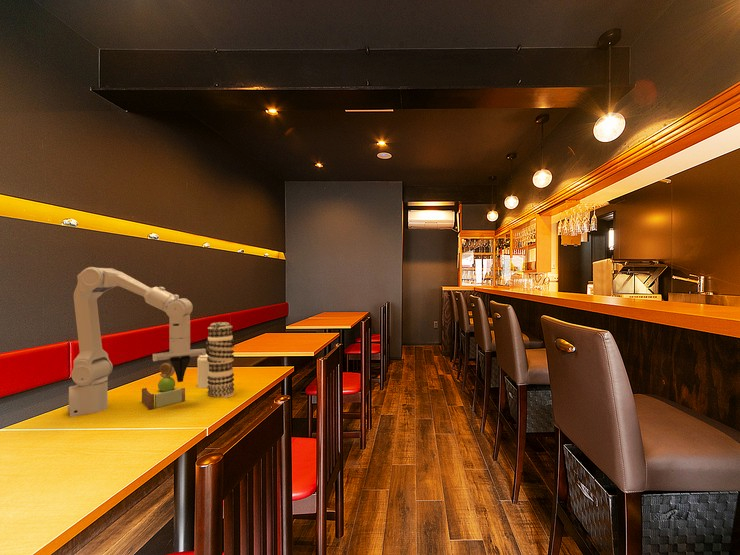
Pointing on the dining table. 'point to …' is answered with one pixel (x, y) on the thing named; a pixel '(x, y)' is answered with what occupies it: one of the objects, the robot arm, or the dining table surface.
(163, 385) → the snail figurine
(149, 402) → the base
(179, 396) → the fence gate
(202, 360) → the beverage can
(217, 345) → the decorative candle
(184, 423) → the dining table surface
